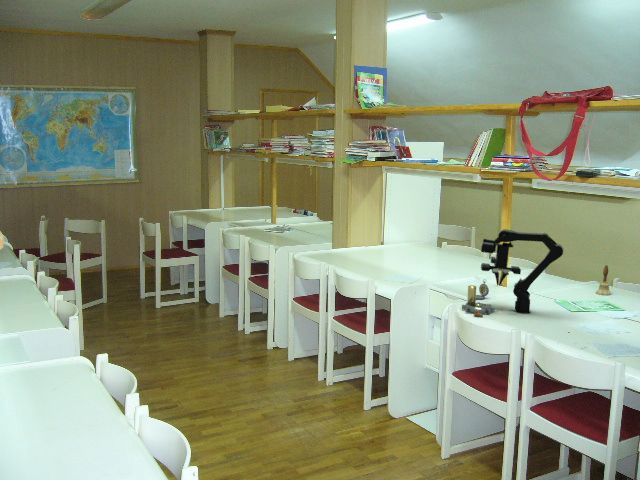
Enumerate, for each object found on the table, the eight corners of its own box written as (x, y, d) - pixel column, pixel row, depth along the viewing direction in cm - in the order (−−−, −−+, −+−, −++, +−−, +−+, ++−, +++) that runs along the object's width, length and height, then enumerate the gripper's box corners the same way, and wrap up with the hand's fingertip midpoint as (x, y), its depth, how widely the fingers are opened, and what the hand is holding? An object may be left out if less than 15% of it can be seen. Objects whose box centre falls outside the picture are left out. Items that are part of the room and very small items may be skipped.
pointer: (482, 316, 321) (482, 313, 321) (482, 317, 318) (482, 315, 318) (474, 315, 322) (474, 312, 322) (474, 317, 319) (474, 314, 319)
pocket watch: (470, 298, 354) (471, 280, 352) (474, 295, 361) (475, 277, 360) (486, 300, 350) (487, 282, 349) (489, 297, 358) (490, 279, 356)
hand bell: (608, 292, 374) (611, 264, 372) (613, 295, 366) (616, 267, 364) (593, 291, 375) (595, 263, 373) (598, 295, 367) (600, 266, 364)
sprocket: (478, 304, 340) (479, 283, 338) (501, 312, 327) (502, 290, 325) (455, 308, 332) (456, 286, 331) (477, 316, 319) (478, 293, 317)
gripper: (519, 253, 337) (515, 283, 340) (481, 249, 339) (477, 279, 342) (522, 258, 326) (518, 288, 329) (483, 254, 328) (480, 285, 331)
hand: (498, 285), depth 333 cm, fingers closed
